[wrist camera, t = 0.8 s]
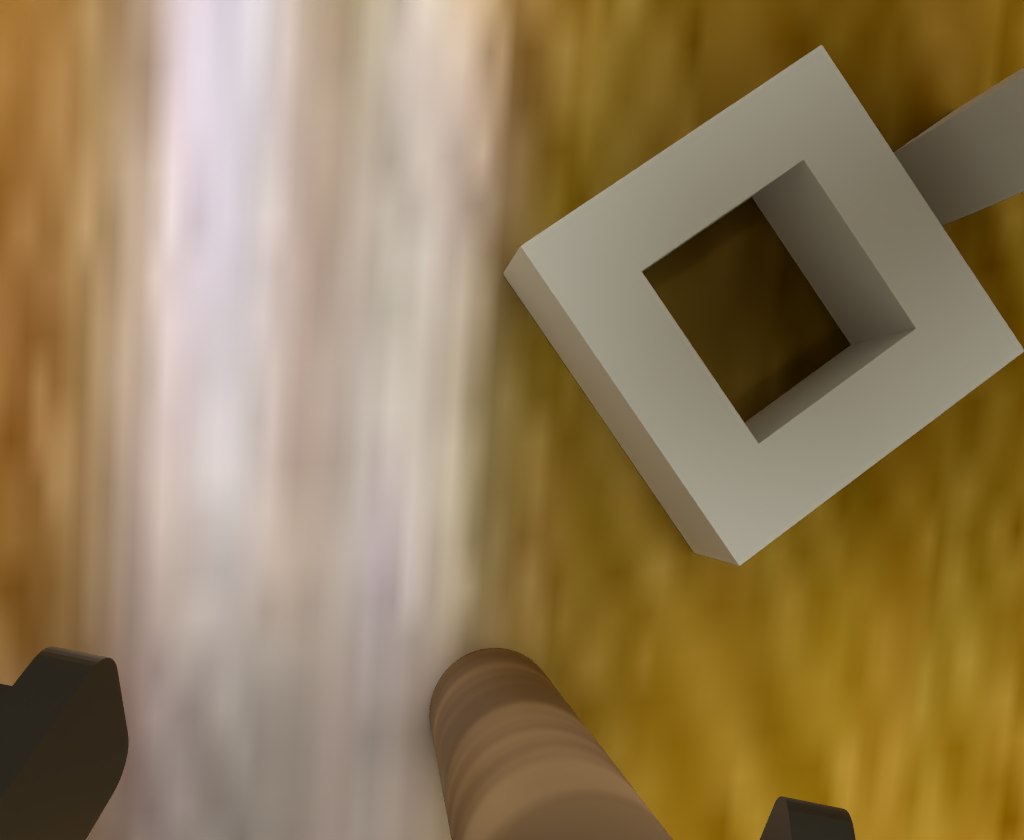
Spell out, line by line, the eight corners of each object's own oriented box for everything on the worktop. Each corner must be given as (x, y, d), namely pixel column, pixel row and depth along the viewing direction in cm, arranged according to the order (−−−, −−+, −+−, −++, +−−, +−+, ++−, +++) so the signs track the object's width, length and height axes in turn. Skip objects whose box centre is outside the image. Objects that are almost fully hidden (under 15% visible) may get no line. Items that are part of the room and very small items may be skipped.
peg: (419, 662, 30) (451, 831, 16) (544, 636, 31) (678, 779, 17) (441, 789, 30) (492, 1069, 16) (565, 761, 31) (718, 1009, 17)
